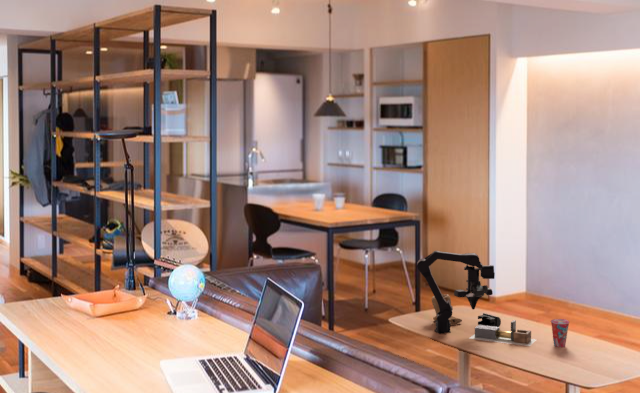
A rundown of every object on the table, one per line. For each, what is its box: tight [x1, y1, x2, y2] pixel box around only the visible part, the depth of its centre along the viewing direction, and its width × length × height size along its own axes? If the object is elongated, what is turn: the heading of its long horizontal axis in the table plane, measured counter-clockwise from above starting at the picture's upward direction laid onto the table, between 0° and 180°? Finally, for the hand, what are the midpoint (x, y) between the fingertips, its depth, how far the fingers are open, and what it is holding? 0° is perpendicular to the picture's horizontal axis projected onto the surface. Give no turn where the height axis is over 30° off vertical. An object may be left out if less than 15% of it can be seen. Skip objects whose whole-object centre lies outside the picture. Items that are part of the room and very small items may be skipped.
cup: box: [550, 318, 570, 348], centre depth 379 cm, size 9×8×12 cm
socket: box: [514, 329, 532, 344], centre depth 386 cm, size 6×7×5 cm
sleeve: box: [474, 324, 500, 340], centre depth 395 cm, size 10×6×5 cm, turn 60°
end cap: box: [477, 313, 502, 328], centre depth 413 cm, size 10×7×7 cm
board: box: [468, 333, 538, 347], centre depth 391 cm, size 30×13×1 cm, turn 60°
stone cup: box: [431, 293, 463, 326], centre depth 425 cm, size 15×12×15 cm
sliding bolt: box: [496, 319, 517, 341], centre depth 390 cm, size 17×4×9 cm, turn 60°
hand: (473, 309), depth 403 cm, fingers closed
